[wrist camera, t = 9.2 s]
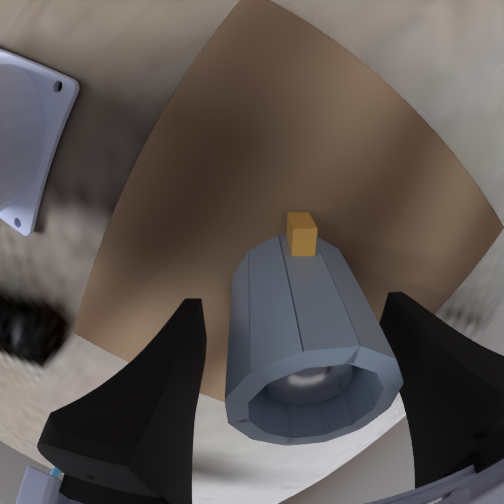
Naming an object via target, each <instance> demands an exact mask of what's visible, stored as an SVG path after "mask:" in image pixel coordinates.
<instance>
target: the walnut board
mask: <svg viewBox="0 0 504 504" xmlns="http://www.w3.org/2000/svg"><path fill="white" fill-rule="evenodd" d="M287 212H309V213H310V215H311V217H312V219H313V221H314V223H315V225H316V227H317V237H319V238H320V239H322V240H324V241H326V242H327V243H329V244H331V245H333V246H334V247H336V248H338V249H339V250H340V252H341V253H342V255H343V257H344V259H345V261H346V262H347V264H348V266H349V268H350V270H351V271H352V273H353V275H354V277H355V279H356V281H357V282H358V284H359V286H360V288H361V290H362V292H363V294H364V295H365V297H366V299H367V301H368V303H369V305H370V307H371V309H372V311H373V313H374V315H375V317H376V319H377V321H378V323H379V322H380V319H381V316H382V312H383V309H384V306H385V302H386V299H387V295H388V292H400V291H401V292H403V293H405V294H406V295H408V296H409V297H411V298H412V299H414V300H415V301H416V302H418V303H419V304H420V305H422V306H423V307H424V308H426V309H427V310H428V311H430V312H431V313H432V314H435V312H436V311H437V310H438V309H439V308H440V307H441V306H442V305H443V304H444V303H445V302H446V301H447V299H448V298H449V297H450V296H451V295H452V294H453V293H454V292H455V290H456V289H457V288H458V287H459V286H460V285H461V283H462V282H463V281H464V280H465V279H466V277H467V276H468V275H469V274H470V273H471V271H472V270H473V269H474V268H475V266H476V265H477V264H478V263H479V261H480V260H481V259H482V257H483V256H484V255H485V253H486V252H487V251H488V249H489V248H490V247H491V245H492V244H493V242H494V241H495V240H496V238H497V237H498V235H499V234H500V233H501V231H502V230H503V228H504V226H503V225H502V223H501V221H500V219H499V218H498V216H497V215H496V213H495V211H494V210H493V208H492V207H491V205H490V203H489V202H488V200H487V199H486V197H485V196H484V194H483V193H482V191H481V190H480V188H479V187H478V186H477V184H476V183H475V181H474V180H473V178H472V177H471V176H470V174H469V173H468V172H467V170H466V169H465V168H464V166H463V165H462V164H461V162H460V161H459V160H458V159H457V157H456V156H455V155H454V154H453V152H452V151H451V150H450V149H449V147H448V146H447V145H446V144H445V143H444V141H443V140H442V139H441V138H440V137H439V136H438V134H437V133H436V132H435V131H434V130H433V129H432V128H431V127H430V126H429V124H428V123H427V122H426V121H425V120H424V119H423V118H422V117H421V116H420V115H419V114H418V113H417V112H416V111H415V110H414V109H413V108H412V107H411V106H410V105H409V104H408V103H407V102H406V101H405V100H404V99H403V98H402V97H401V96H400V95H399V94H398V93H397V92H396V91H395V90H394V89H393V88H392V87H391V86H390V85H389V84H387V83H386V82H385V81H384V80H383V79H382V78H381V77H380V76H378V75H377V74H376V73H375V72H374V71H373V70H371V69H370V68H369V67H368V66H367V65H365V64H364V63H363V62H362V61H360V60H359V59H358V58H357V57H355V56H354V55H353V54H352V53H350V52H349V51H348V50H346V49H345V48H344V47H342V46H341V45H340V44H338V43H337V42H336V41H334V40H333V39H331V38H330V37H329V36H327V35H326V34H324V33H323V32H321V31H320V30H318V29H317V28H315V27H314V26H312V25H311V24H309V23H308V22H306V21H305V20H303V19H301V18H300V17H298V16H296V15H295V14H293V13H291V12H290V11H288V10H286V9H285V8H283V7H281V6H279V5H278V4H276V3H274V2H272V1H270V0H240V1H239V2H238V3H237V5H236V6H235V7H234V8H233V10H232V11H231V12H230V13H229V14H228V16H227V17H226V18H225V20H224V21H223V22H222V23H221V25H220V26H219V27H218V29H217V30H216V31H215V33H214V34H213V35H212V37H211V38H210V39H209V41H208V42H207V44H206V45H205V46H204V48H203V49H202V51H201V52H200V53H199V55H198V56H197V58H196V59H195V61H194V62H193V64H192V65H191V67H190V68H189V70H188V71H187V73H186V74H185V76H184V77H183V79H182V81H181V82H180V84H179V85H178V87H177V89H176V90H175V92H174V93H173V95H172V97H171V98H170V100H169V102H168V103H167V105H166V107H165V109H164V110H163V112H162V114H161V115H160V117H159V119H158V121H157V123H156V124H155V126H154V128H153V130H152V132H151V134H150V135H149V137H148V139H147V141H146V143H145V145H144V147H143V149H142V151H141V153H140V155H139V157H138V159H137V161H136V163H135V165H134V167H133V169H132V171H131V173H130V175H129V178H128V180H127V182H126V184H125V186H124V189H123V191H122V193H121V195H120V198H119V200H118V202H117V205H116V207H115V209H114V212H113V214H112V217H111V219H110V221H109V224H108V226H107V229H106V232H105V234H104V237H103V239H102V242H101V245H100V248H99V250H98V253H97V256H96V259H95V262H94V265H93V268H92V271H91V274H90V277H89V280H88V283H87V286H86V289H85V293H84V296H83V299H82V303H81V306H80V310H79V313H78V317H77V321H76V325H75V329H74V333H76V334H77V335H79V336H81V337H82V338H84V339H86V340H88V341H89V342H91V343H93V344H95V345H97V346H99V347H100V348H102V349H104V350H106V351H108V352H110V353H112V354H114V355H116V356H118V357H119V358H121V359H123V360H125V361H127V362H131V361H132V360H133V359H134V358H135V357H136V356H137V355H138V354H139V353H140V352H141V351H142V350H143V349H144V348H145V347H146V346H147V345H148V343H149V342H150V341H151V340H152V339H153V338H154V337H155V336H156V335H157V333H158V332H159V331H160V330H161V329H162V327H163V326H164V325H165V324H166V322H167V321H168V320H169V319H170V317H171V316H172V315H173V313H174V312H175V311H176V309H177V308H178V307H179V305H180V304H181V303H182V301H183V300H184V299H185V298H202V305H203V313H204V320H205V328H206V335H207V347H206V360H205V366H204V371H203V376H202V381H201V386H200V392H199V393H201V394H204V395H207V396H209V397H212V398H215V399H218V400H220V401H223V402H225V385H226V368H227V351H228V336H229V321H230V306H231V292H232V278H233V275H234V273H235V271H236V270H237V268H238V267H239V265H240V263H241V262H242V260H243V259H244V257H245V255H246V254H247V252H248V251H249V250H251V249H252V248H254V247H256V246H258V245H260V244H262V243H264V242H266V241H267V240H269V239H271V238H273V237H275V236H277V235H284V234H286V233H287Z"/></svg>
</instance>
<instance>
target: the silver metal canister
mask: <svg viewBox="0 0 504 504" xmlns="http://www.w3.org/2000/svg"><path fill="white" fill-rule="evenodd" d="M352 374H353V371H352V367H351V364H343V365H334V366H323V367H310V368H305V369H303V370H300V371H298V372H295V373H293V374H290V375H288V376H285V377H283V378H280V379H277V380H275V381H272V382H269V383H268V390H269V392H270V394H271V395H272V396H273V397H274V398H275V399H277V400H278V401H280V402H283V403H286V404H291V405H310V404H315V403H319V402H323V401H325V400H328V399H330V398H332V397H334V396H336V395H337V394H339V393H340V392H341V391H343V390H344V389H345V388H346V387H347V385H348V384H349V383H350V381H351V378H352Z"/></svg>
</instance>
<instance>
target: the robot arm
mask: <svg viewBox="0 0 504 504" xmlns="http://www.w3.org/2000/svg"><path fill="white" fill-rule="evenodd" d="M60 82H62V85H63V86H62V89H61V91H60V92H59V91H58V85H59V83H60ZM78 93H79V84H78V82H77V81H76V80H75V79H73V78H71V77H68V76H66V75H64V74H62V73H59V72H57V71H55V70H53V69H50V68H48V67H46V66H43V65H41V64H38V63H36V62H34V61H31V60H29V59H26V58H24V57H21V56H19V55H16V54H14V53H11V52H8V51H6V50H3V49H0V218H1V219H2V220H4V221H5V222H6V223H8V224H9V225H10V226H12V227H13V228H14V229H16V230H17V231H19V232H20V233H21V234H23V235H25V236H29V235H30V234H31V233H32V232H33V231H34V229H35V224H36V219H37V215H38V210H39V206H40V202H41V198H42V194H43V190H44V187H45V183H46V179H47V176H48V173H49V169H50V166H51V163H52V160H53V157H54V154H55V151H56V148H57V145H58V142H59V139H60V137H61V134H62V131H63V129H64V126H65V124H66V121H67V119H68V116H69V114H70V111H71V109H72V107H73V104H74V102H75V100H76V98H77V95H78ZM19 220H20V222H21V223H20V222H19ZM379 325H380V327H381V329H382V331H383V333H384V335H385V337H386V339H387V341H388V343H389V345H390V347H391V349H392V351H393V353H394V356H395V358H396V360H397V363H398V366H399V369H400V372H401V375H402V379H403V385H402V387H401V389H400V390H399V392H400V395H401V398H402V401H403V404H404V408H405V412H406V416H407V420H408V424H409V429H410V434H411V440H412V447H413V455H414V468H415V489H414V490H411V491H408V492H405V493H401V494H398V495H395V496H392V497H388V498H385V499H381V500H377V501H373V502H370V503H366V504H427V503H430V502H432V501H435V500H437V499H439V498H442V497H443V498H442V500H441V501H439V502H437V503H435V504H504V356H502V355H500V354H498V353H496V352H493V351H491V350H489V349H487V348H485V347H483V346H481V345H479V344H477V343H476V342H474V341H472V340H471V339H469V338H467V337H466V336H464V335H462V334H461V333H459V332H458V331H456V330H455V329H453V328H452V327H450V326H449V325H447V324H446V323H445V322H443V321H442V320H441V319H439V318H438V317H436V316H435V315H434V314H432V313H431V312H430V311H428V310H427V309H426V308H424V307H423V306H422V305H420V304H419V303H418V302H416V301H415V300H414V299H412V298H411V297H409V296H408V295H406V294H405V293H403V292H401V291H400V292H388V295H387V299H386V302H385V306H384V309H383V312H382V316H381V319H380V322H379ZM206 347H207V335H206V328H205V320H204V313H203V305H202V298H185V299H184V300H183V301H182V303H181V304H180V305H179V307H178V308H177V309H176V311H175V312H174V313H173V315H172V316H171V317H170V319H169V320H168V321H167V322H166V324H165V325H164V326H163V327H162V329H161V330H160V331H159V332H158V333H157V335H156V336H155V337H154V338H153V339H152V340H151V341H150V342H149V343H148V345H147V346H146V347H145V348H144V349H143V350H142V351H141V352H140V353H139V354H138V355H137V356H136V357H135V358H134V359H133V360H132V361H131V362H130V363H128V364H127V365H126V366H125V367H124V368H123V369H122V370H120V371H119V372H118V373H117V374H115V375H114V376H113V377H111V378H110V379H109V380H107V381H106V382H105V383H103V384H102V385H101V386H99V387H98V388H96V389H95V390H93V391H91V392H90V393H88V394H86V395H85V396H83V397H81V398H80V399H78V400H76V401H74V402H72V403H70V404H68V405H66V406H64V407H62V408H60V409H58V410H56V411H53V412H51V413H50V415H49V417H48V420H47V422H46V424H45V427H44V429H43V432H42V434H41V437H40V439H39V442H38V444H37V448H38V450H39V452H40V453H41V454H42V455H43V456H44V457H45V458H46V459H47V460H48V461H49V462H50V463H52V464H53V465H54V466H55V467H57V468H58V469H59V470H60V471H62V472H63V473H64V477H63V481H62V480H60V479H59V478H57V477H55V476H52V475H50V474H48V473H45V472H43V471H41V470H38V469H36V468H34V467H32V466H27V469H26V472H25V475H24V478H23V481H22V484H21V487H20V490H19V494H18V497H17V500H16V504H192V453H193V435H194V420H195V413H196V407H197V402H198V397H199V392H200V386H201V381H202V376H203V371H204V366H205V360H206Z"/></svg>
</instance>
